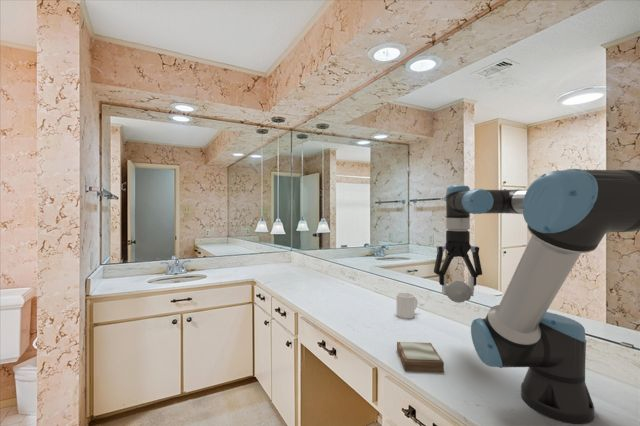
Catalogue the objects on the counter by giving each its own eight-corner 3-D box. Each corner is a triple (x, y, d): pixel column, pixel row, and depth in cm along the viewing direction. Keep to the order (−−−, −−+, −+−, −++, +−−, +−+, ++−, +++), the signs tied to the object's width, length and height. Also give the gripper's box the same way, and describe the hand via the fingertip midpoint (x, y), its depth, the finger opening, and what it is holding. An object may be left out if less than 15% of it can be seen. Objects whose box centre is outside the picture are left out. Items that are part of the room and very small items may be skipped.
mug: (410, 310, 152) (410, 290, 152) (423, 315, 145) (423, 294, 145) (392, 314, 146) (392, 293, 146) (405, 320, 139) (405, 298, 139)
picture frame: (443, 372, 95) (443, 361, 95) (404, 370, 96) (404, 360, 96) (430, 351, 109) (430, 342, 109) (396, 350, 110) (396, 341, 110)
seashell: (453, 319, 108) (456, 296, 98) (433, 295, 117) (434, 271, 107) (473, 310, 109) (479, 285, 99) (452, 286, 118) (455, 262, 108)
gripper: (484, 229, 109) (484, 292, 109) (424, 229, 110) (423, 291, 111) (494, 230, 101) (494, 298, 101) (429, 230, 103) (429, 297, 103)
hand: (457, 294), depth 106 cm, fingers closed on seashell, 8 cm apart
